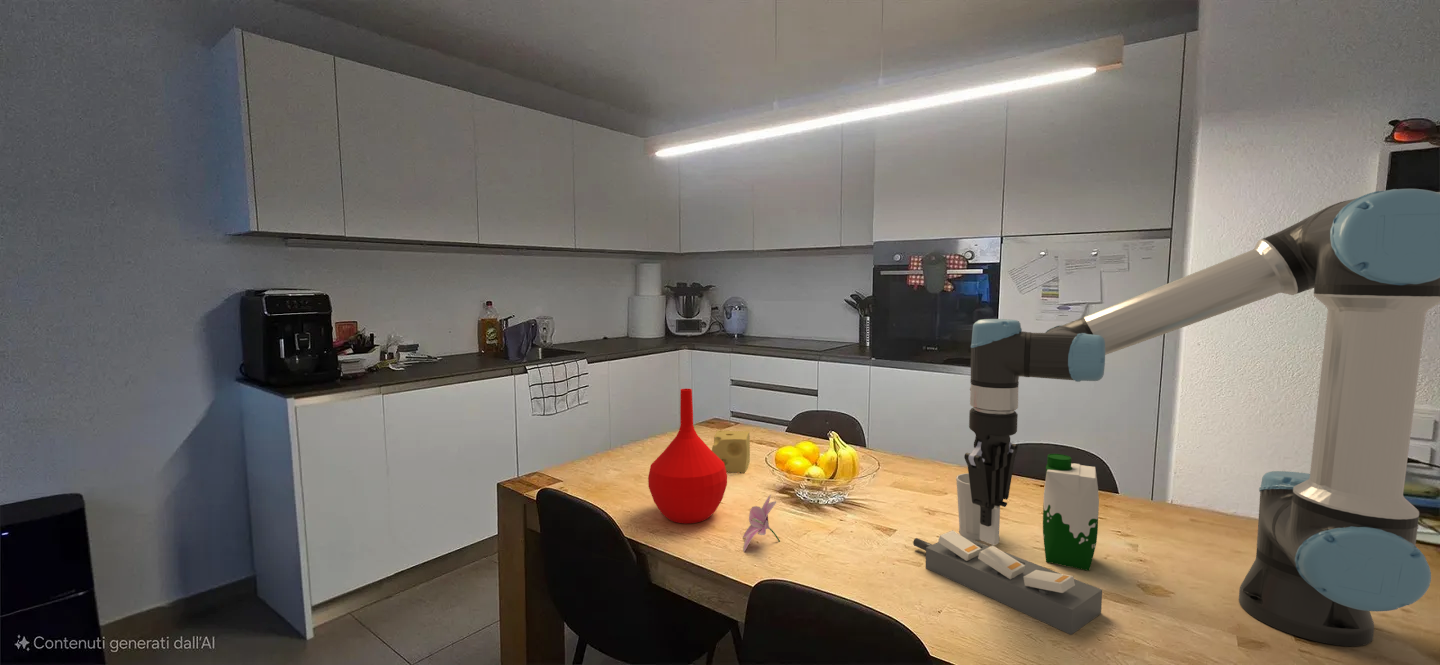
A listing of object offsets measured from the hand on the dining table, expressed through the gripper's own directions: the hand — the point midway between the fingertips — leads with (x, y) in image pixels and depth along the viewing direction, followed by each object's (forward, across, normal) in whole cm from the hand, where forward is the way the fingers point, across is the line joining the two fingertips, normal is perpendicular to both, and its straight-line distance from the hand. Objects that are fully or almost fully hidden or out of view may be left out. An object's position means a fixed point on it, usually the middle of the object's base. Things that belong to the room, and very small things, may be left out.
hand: (989, 541), depth 103 cm
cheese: (+9, -3, -82) cm, 82 cm away
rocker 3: (+3, 0, +10) cm, 11 cm away
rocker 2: (+3, 0, +2) cm, 4 cm away
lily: (+9, +21, -38) cm, 44 cm away
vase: (+9, +26, -59) cm, 65 cm away
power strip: (+8, -2, -1) cm, 9 cm away
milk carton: (+9, -22, +3) cm, 24 cm away
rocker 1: (+3, 0, -6) cm, 6 cm away
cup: (+9, -18, -14) cm, 24 cm away
